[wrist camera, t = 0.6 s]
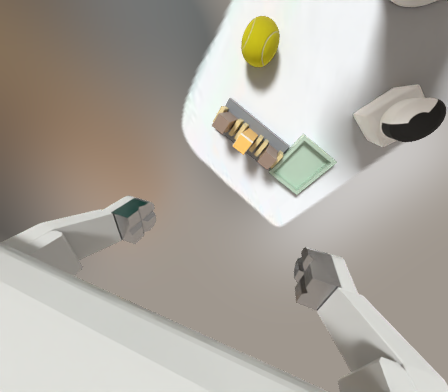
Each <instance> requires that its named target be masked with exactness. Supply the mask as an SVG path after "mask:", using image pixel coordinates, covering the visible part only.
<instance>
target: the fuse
mask: <svg viewBox="0 0 448 392" xmlns="http://www.w3.org/2000/svg"><path fill="white" fill-rule="evenodd" d="M257 136H258V135H257V134H256V133H255V132H254V131H253V130H251V129H250V128H248V129H247V130H246V131H244V132H243V133H241V134H240V135H239V137H238V138H237V140H236V141H235V143H234V144H233V147H234V148H235V149H237V150H238V151H239V152H240V153H242V154H243V155H244V154H245V152H246V151H247V150H248V148H249V147H250V146H251V145H252V143H253V142H254V140H255V139H256V138H257Z"/></svg>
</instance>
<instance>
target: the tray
mask: <svg viewBox="0 0 448 392" xmlns="http://www.w3.org/2000/svg"><path fill="white" fill-rule="evenodd" d="M336 163H337V162H336V161H335V160H334V159H333V158H332V157H331V156H330V155H328V154H327V153H326V152H325V151H324V150H322V149H321V148H320V147H319V146H318V145H316V144H315V143H314V142H313V141H312V140H310V139H309V138H308V137H307V136H306V135H304V134H303V135H302V136H301V137H300V138H299V139H298V140H297V141H296V142H295V143H294V144H293V145H292V146H291V147H290V148H289V149H288V150H287V151H286V153H285V154H284V155H283V157H282V158H281V160H280V161H279V162H278V163H277V164H276V165H275V166H274V167H273V168H272V169H271V168H270V169H269V173H270V174H271V175H272V176H273V177H275V178H276V179H277V180H279V181H280V182H281V183H282V184H284V185H285V186H286V187H287V188H289V189H290V190H291V191H292V192H294V193H295V194H296V195H297V194H298V193H300V192H301V191H302V190H303V189H305V188H306V187H307V186H308V185H310V184H311V183H312V182H313V181H315V180H316V179H317V178H318V177H320V176H321V175H322V174H323V173H325V172H326V171H327V170H328V169H330V168H331V167H332V166H333V165H334V164H336Z"/></svg>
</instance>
